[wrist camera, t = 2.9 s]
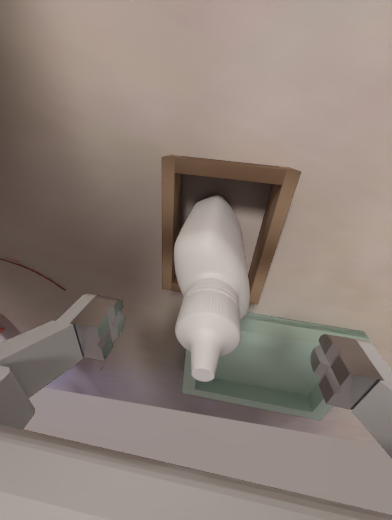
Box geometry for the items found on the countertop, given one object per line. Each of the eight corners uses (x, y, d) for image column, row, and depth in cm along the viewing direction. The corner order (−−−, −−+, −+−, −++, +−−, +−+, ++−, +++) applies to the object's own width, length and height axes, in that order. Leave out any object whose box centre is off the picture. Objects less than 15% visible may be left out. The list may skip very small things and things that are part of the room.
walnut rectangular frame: (172, 155, 14) (161, 156, 12) (289, 167, 13) (301, 172, 11) (169, 273, 19) (162, 289, 17) (254, 285, 18) (257, 304, 16)
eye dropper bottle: (189, 254, 18) (136, 404, 8) (196, 190, 15) (127, 289, 5) (237, 262, 18) (251, 429, 7) (254, 199, 15) (317, 325, 4)
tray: (185, 373, 27) (181, 393, 25) (192, 303, 21) (188, 322, 18) (312, 398, 26) (320, 420, 24) (363, 331, 19) (380, 354, 17)
